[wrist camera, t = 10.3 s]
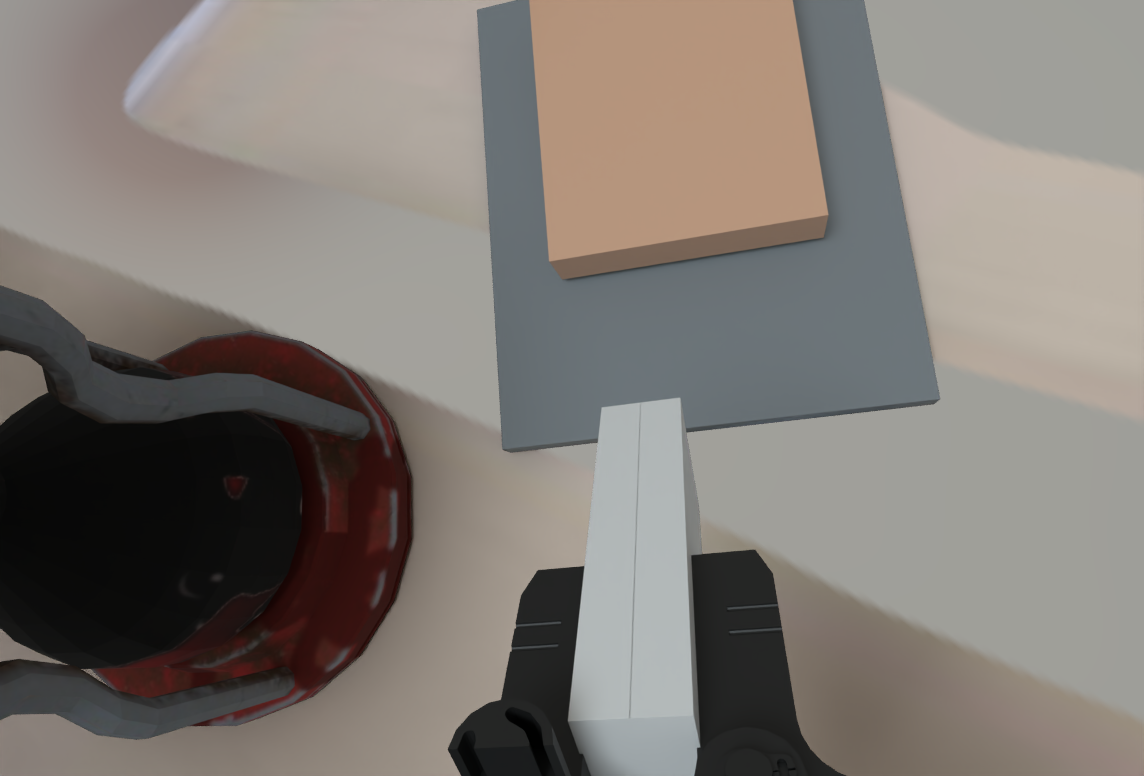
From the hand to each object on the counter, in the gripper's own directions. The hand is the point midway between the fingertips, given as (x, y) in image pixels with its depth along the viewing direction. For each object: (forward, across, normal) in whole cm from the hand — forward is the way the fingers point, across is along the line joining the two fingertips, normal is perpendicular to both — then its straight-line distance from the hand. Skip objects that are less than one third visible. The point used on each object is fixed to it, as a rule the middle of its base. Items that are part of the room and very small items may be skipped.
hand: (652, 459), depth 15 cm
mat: (+19, +1, -1) cm, 19 cm away
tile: (+15, +1, -2) cm, 15 cm away
